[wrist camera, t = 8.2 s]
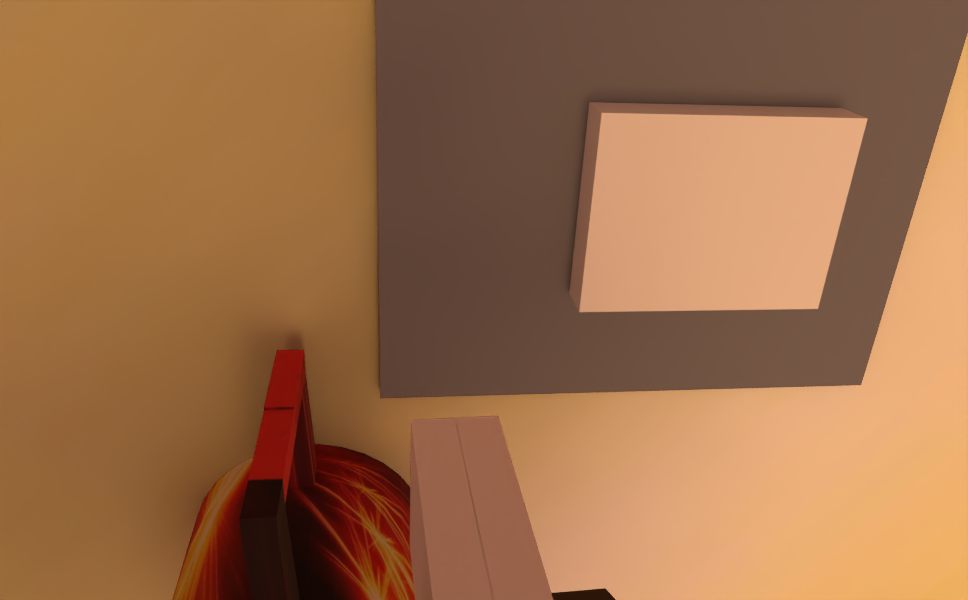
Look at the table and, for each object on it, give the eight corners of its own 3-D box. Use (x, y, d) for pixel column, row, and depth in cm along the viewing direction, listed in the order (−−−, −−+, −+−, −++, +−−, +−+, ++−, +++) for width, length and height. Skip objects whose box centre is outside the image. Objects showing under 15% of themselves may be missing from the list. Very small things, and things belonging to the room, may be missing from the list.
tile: (579, 312, 27) (817, 308, 29) (601, 112, 24) (867, 118, 26) (568, 291, 29) (795, 288, 30) (588, 101, 26) (839, 107, 27)
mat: (380, 389, 31) (380, 398, 30) (374, -59, 24) (374, -58, 23) (852, 377, 33) (861, 385, 33) (973, -29, 26) (985, -28, 26)
